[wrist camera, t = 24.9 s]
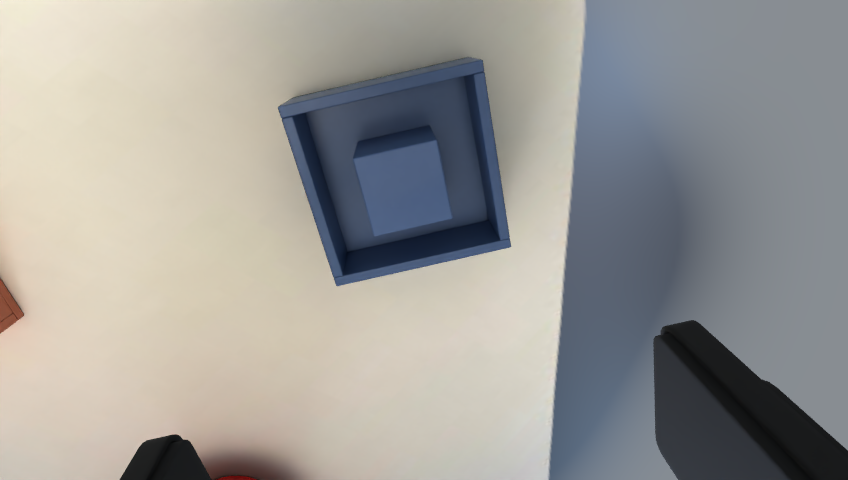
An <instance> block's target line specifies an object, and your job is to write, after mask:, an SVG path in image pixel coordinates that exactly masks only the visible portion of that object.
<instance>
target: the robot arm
mask: <svg viewBox="0 0 848 480" xmlns="http://www.w3.org/2000/svg"><path fill="white" fill-rule="evenodd" d="M654 383H655V429H656V430H655V433H656V441H657V445H658V447H659V450H660V452H661V454H662V455H663V457H664V458H665V460H666V462H667V463H668V465H669V466H670V468H671V469H672V471H673V472H674V474H675V475H676V477H677V478H678V480H848V451H847V450H846V449H845V448H844V447H843V446H842V445H841V444H840V443H839V442H837V441H836V440H835V439H834V438H833V437H832V436H830V434H828V433H827V432H826V431H825V430H824V429H823V428H822V427H820V425H818V424H817V423H816V422H815V421H814V420H813V419H812V418H810V417H809V416H808V415H807V414H806V413H805V412H804V411H803V410H802V409H800V408H799V407H798V406H797V405H796V404H795V403H793V401H791V400H790V399H789V398H788V397H787V396H786V395H785V394H784V393H783V392H781V391H780V390H779V389H778V388H777V387H775V386H774V385H772V384H771V383H770V382H767V381H764V380H761V379H760V378H759V377H758V376H757V375H756V374H755V373H753V372H752V371H751V370H750V369H749V368H748V367H747V366H746V365H745V364H744V363H743V362H741V361H740V360H739V359H738V358H737V357H736V356H735V355H734V354H733V353H732V352H730V351H729V350H728V349H727V348H726V347H725V346H724V345H723V344H722V343H720V342H719V341H718V340H717V339H716V338H715V337H714V336H713V335H711V333H709V332H708V331H707V330H706V329H705V328H704V327H703V326H702V325H701V324H699V323H698V322H696V321H694V320H691V321H686V322H682V323H677V324H673V325H669V326H665V327H663V328H662V330H661V335H658V336H655V338H654ZM120 480H211V478H210V476H209V474H208V473H207V471H206V469H205V467H204V465H203V464H202V462H201V460H200V458H199V456H198V455H197V453H196V451H195V449H194V447H193V446H192V444H191V443H190V441H188V440H183V439H182V438H181V437H180V436H179V435H169V436H165V437H160V438H156V439H151V440H147V441H145V442H144V443H142V445H141V446H140V447H139V449H138V450H137V452H136V454H135V455H134V457H133V458H132V460H131V462H130V463H129V465H128V467H127V468H126V470H125V472H124V473H123V475H122V477H121V478H120Z"/></svg>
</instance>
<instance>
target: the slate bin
mask: <svg viewBox="0 0 848 480" xmlns="http://www.w3.org/2000/svg"><path fill="white" fill-rule="evenodd" d="M278 110H279V113H280V116H281V118H282V122H283V125H284V128H285V131H286V134H287V137H288V140H289V143H290V146H291V149H292V152H293V155H294V158H295V161H296V164H297V167H298V171H299V174H300V177H301V180H302V183H303V186H304V189H305V192H306V195H307V198H308V201H309V204H310V207H311V210H312V213H313V216H314V219H315V222H316V225H317V228H318V231H319V235H320V238H321V241H322V244H323V247H324V250H325V253H326V256H327V259H328V262H329V265H330V268H331V271H332V274H333V277H334V280H335V283H336V286H340V285H345V284H349V283H353V282H358V281H362V280H367V279H371V278H376V277H380V276H385V275H389V274H393V273H398V272H402V271H407V270H411V269H416V268H420V267H425V266H429V265H434V264H438V263H442V262H447V261H451V260H456V259H460V258H465V257H469V256H474V255H478V254H483V253H487V252H491V251H496V250H500V249H505V248H509V247H511V243H510V238H509V237H510V236H509V230H508V223H507V217H506V210H505V204H504V197H503V191H502V184H501V178H500V171H499V165H498V158H497V152H496V145H495V138H494V132H493V125H492V119H491V112H490V106H489V99H488V93H487V86H486V80H485V73H484V66H483V60H481V59H476V58H471V57H466V58H462V59H458V60H454V61H449V62H445V63H441V64H436V65H432V66H428V67H423V68H419V69H415V70H410V71H406V72H402V73H397V74H393V75H389V76H384V77H380V78H376V79H372V80H367V81H363V82H359V83H354V84H350V85H346V86H341V87H337V88H333V89H328V90H324V91H320V92H315V93H311V94H307V95H302V96H298V97H294V98H292V99H290V100H288V101H287V102H285V103H284V104H282V105H280V106H279V107H278ZM428 125H430V127H431V129H432V131H433V133H434V135H435V137H436V139H437V141H438V146H439V151H440V156H441V161H442V166H443V171H444V176H445V181H446V186H447V191H448V196H449V201H450V206H451V211H452V215H453V218H452V219H448V220H444V221H439V222H435V223H431V224H426V225H422V226H417V227H413V228H408V229H404V230H400V231H395V232H391V233H386V234H382V235H378V236H374V235H373V231H372V228H371V224H370V221H369V217H368V213H367V210H366V206H365V203H364V199H363V195H362V192H361V188H360V185H359V181H358V177H357V174H356V170H355V167H354V163H353V156H354V153H355V149H356V146H357V142H358V141H362V140H367V139H371V138H375V137H380V136H384V135H388V134H393V133H397V132H401V131H406V130H410V129H415V128H419V127H423V126H428Z"/></svg>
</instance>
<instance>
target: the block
mask: <svg viewBox="0 0 848 480" xmlns="http://www.w3.org/2000/svg"><path fill="white" fill-rule="evenodd" d="M353 163H354V167H355V170H356V174H357V177H358V181H359V185H360V188H361V192H362V195H363V199H364V203H365V206H366V210H367V213H368V217H369V221H370V224H371V228H372V231H373V235H374V236H378V235H382V234H386V233H391V232H395V231H400V230H404V229H408V228H413V227H417V226H422V225H426V224H431V223H435V222H439V221H444V220H448V219H452V218H453V215H452V211H451V206H450V201H449V196H448V191H447V186H446V181H445V176H444V171H443V166H442V161H441V156H440V151H439V146H438V141H437V139H436V137H435V135H434V133H433V131H432V129H431V127H430V125H428V126H423V127H419V128H415V129H410V130H406V131H401V132H397V133H393V134H388V135H384V136H380V137H375V138H371V139H367V140H362V141H358V142H357V146H356V149H355V153H354V156H353Z"/></svg>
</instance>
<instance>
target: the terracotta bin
mask: <svg viewBox="0 0 848 480" xmlns="http://www.w3.org/2000/svg"><path fill="white" fill-rule="evenodd" d="M23 316H24V315H23V313H22V312H21V310H20V308H19V307H18V305H17V304H16V302H15V301H14V299H13V298H12V296H11V295H10V293H9V292H8V290H7V288H6V287H5V285H4V284H3V282H2V281H1V279H0V333H2V332H3V331H4V330H6V329H7V328H8V327H10V326H11V325H12V324H14V323H15V322H16V321H17V320H19V319H20V318H21V317H23Z"/></svg>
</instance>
